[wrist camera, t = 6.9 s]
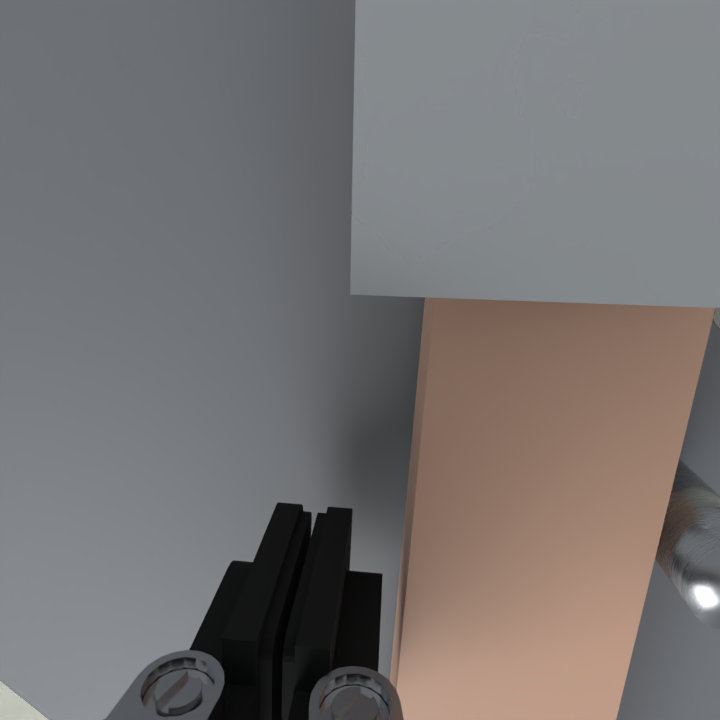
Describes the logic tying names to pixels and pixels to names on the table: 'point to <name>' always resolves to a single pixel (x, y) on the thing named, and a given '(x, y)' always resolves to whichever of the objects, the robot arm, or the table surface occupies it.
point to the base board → (209, 342)
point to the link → (537, 502)
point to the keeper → (547, 175)
